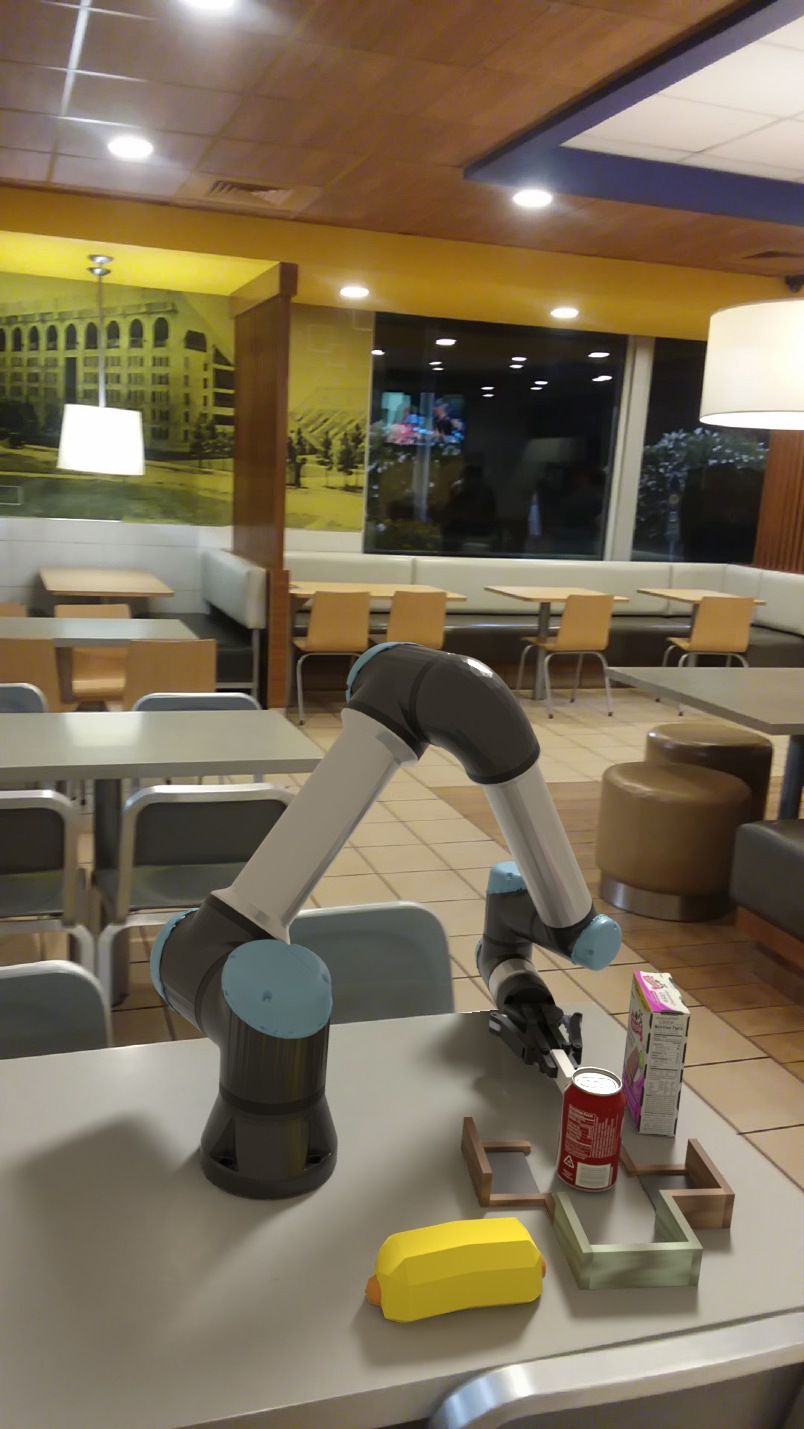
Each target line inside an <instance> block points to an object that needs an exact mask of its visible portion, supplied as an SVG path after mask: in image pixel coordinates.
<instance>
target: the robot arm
mask: <svg viewBox="0 0 804 1429" xmlns="http://www.w3.org/2000/svg"><path fill="white" fill-rule="evenodd" d="M346 685H347V690H345V699H346V705H345V706H344V707H343V708H342V710H341V711H340V716H341V722H342V730H341V731H340V733H339V735H338V736H337V737H336V739H335V740H334V742H332V745H331V746H330V747H329V749H328V750H327V751H326V753H325V754H324V756H322V758H321V760H320V761H319V763H318V764H317V765H316V767H315V768H314V770H313V771H312V772H311V774H310V776H308V778H307V780H306V781H305V782H304V783H303V785H302V786H301V787H300V789H299V790H298V792H297V793H296V794H295V796H294V797H293V799H292V800H291V802H290V803H289V804H288V806H287V807H286V808H285V810H284V811H283V813H282V814H281V816H280V817H279V818H278V820H277V821H276V822H275V823H274V825H273V827H272V828H271V829H270V831H269V832H268V834H267V835H266V836H265V837H264V839H263V840H262V842H261V843H260V844H259V846H258V848H257V849H256V850H255V852H254V853H253V855H252V856H251V857H250V859H249V860H248V861H247V862H246V864H245V866H244V867H243V869H241V871H240V872H239V874H238V876H237V877H236V878H235V879H234V881H233V882H232V883H231V885H230V886H228V887H227V888H226V887H225V888H221V889H216V890H212V891H211V892H210V893H209V894H208V895H207V898H206V899H205V900H204V901H203V902H202V904H201V905H200V907H193V908H189V909H187V910H186V911H181V912H178V913H177V914H175V915H174V916H172V917H171V918H170V919H169V920H167V922H166V923H165V924H164V925H163V926H162V928H161V929H160V930H159V932H158V934H157V936H156V938H155V940H154V942H153V944H152V948H151V952H150V956H149V957H150V958H149V969H150V977H151V981H152V984H153V986H154V988H155V990H156V991H157V993H158V994H159V995H160V996H161V998H163V1000H164V1001H165V1003H166V1005H167V1006H169V1008H170V1009H171V1010H172V1011H173V1012H175V1013H177V1014H179V1015H180V1016H182V1017H183V1018H185V1019H186V1020H187V1021H188V1022H189V1023H190V1024H192V1025H193V1026H194V1027H195V1028H196V1029H197V1030H199V1031H200V1032H201V1033H202V1034H203V1035H204V1036H206V1037H207V1038H208V1039H209V1040H210V1041H211V1042H213V1043H214V1044H215V1045H216V1046H217V1047H218V1049H219V1053H220V1054H219V1078H218V1080H219V1082H218V1093H217V1096H216V1098H215V1100H214V1103H213V1106H212V1108H211V1111H210V1113H209V1116H208V1119H207V1120H206V1124H205V1126H204V1129H203V1131H202V1134H201V1138H200V1144H199V1145H200V1149H199V1164H200V1168H201V1170H202V1172H203V1173H204V1175H205V1177H206V1178H207V1179H208V1180H209V1181H210V1182H211V1183H212V1184H214V1185H215V1186H217V1187H218V1188H220V1189H222V1190H224V1192H225V1191H226V1192H228V1193H230V1194H233V1195H237V1196H239V1197H245V1198H249V1199H257V1200H277V1199H286V1198H290V1197H295V1196H299V1195H302V1194H305V1193H307V1192H310V1191H311V1190H313V1189H315V1188H317V1187H319V1186H321V1184H323V1183H324V1182H325V1181H326V1180H328V1179H329V1177H330V1176H331V1175H332V1173H333V1172H334V1171H335V1169H336V1166H337V1159H338V1145H339V1144H338V1143H339V1142H338V1135H337V1134H338V1133H337V1131H336V1128H335V1123H334V1120H333V1117H332V1113H331V1110H330V1106H329V1103H328V1100H327V1096H326V1086H327V1085H326V1084H327V1081H326V1079H327V1071H328V1070H327V1067H328V1057H329V1056H328V1055H329V1041H330V1031H331V1030H330V1028H331V1018H332V1017H331V1015H332V1010H333V1003H334V1002H333V995H332V978H331V974H330V971H329V969H328V967H327V965H326V963H325V962H324V960H323V959H322V958H321V957H320V956H319V955H318V954H316V953H315V952H314V951H311V949H309V948H307V947H305V946H303V945H300V944H297V943H292V944H291V939H290V938H291V937H290V933H289V932H290V931H289V930H290V926H291V925H292V923H293V922H294V920H295V919H296V918H297V916H299V915H298V914H299V913H300V912H301V910H302V909H303V907H304V906H305V904H306V903H307V902H308V900H309V899H310V897H311V896H312V894H313V893H314V892H315V890H316V889H317V888H318V886H319V884H320V883H321V882H322V880H323V879H324V878H325V877H326V876H325V875H326V874H327V873H328V871H329V870H330V869H331V868H332V866H333V865H334V863H335V861H336V860H337V859H338V857H339V856H340V854H341V852H342V851H343V850H344V848H345V847H346V846H347V844H348V842H349V841H350V840H351V838H352V837H353V835H354V833H355V832H356V831H357V829H358V828H359V826H360V825H361V824H362V822H363V821H364V819H365V817H366V816H367V815H368V814H369V812H370V811H371V809H372V808H373V806H374V805H375V803H376V802H377V801H378V799H379V798H380V796H381V795H382V793H383V792H384V790H385V789H386V788H387V786H388V785H389V784H390V782H391V780H392V779H393V777H394V776H395V775H396V773H397V772H398V771H399V770H400V769H401V768H407V767H414V766H416V765H417V764H418V763H419V761H420V759H421V757H422V756H423V755H424V754H425V752H426V751H427V749H428V748H429V747H430V745H431V746H434V747H437V748H442V749H444V750H445V751H447V752H449V753H450V754H451V755H453V756H454V757H455V759H457V760H458V761H459V763H460V764H461V765H462V767H463V769H464V771H465V773H466V776H467V777H468V779H469V780H470V781H471V782H472V783H473V784H475V785H478V786H480V788H481V789H482V792H483V793H484V795H485V797H486V800H487V803H488V805H489V807H490V809H491V812H492V814H493V817H494V819H495V820H496V823H497V825H498V827H499V829H500V833H501V834H502V837H503V838H504V841H505V843H506V845H507V847H508V850H509V852H510V854H511V856H512V858H513V861H512V860H511V861H502V862H499V863H496V864H494V865H493V866H492V867H491V868H490V871H489V875H488V882H487V887H486V890H485V894H486V895H485V908H484V920H483V922H484V924H483V931H482V932H483V933H482V937H481V938H480V939H479V941H478V942H477V944H476V946H475V949H474V960H475V965H476V969H477V971H478V972H477V973H478V974H479V976H480V977H481V979H482V981H483V983H484V984H485V987H486V988H487V990H488V991H489V994H490V996H491V998H492V1000H493V1002H494V1004H495V1006H496V1009H497V1010H498V1012H499V1013H498V1012H496V1011H493V1012H490V1014H489V1022H488V1032H489V1033H490V1034H493V1035H494V1036H496V1037H498V1038H499V1039H500V1040H501V1041H502V1042H503V1043H504V1044H505V1045H506V1046H507V1047H508V1048H509V1049H510V1051H512V1052H513V1054H514V1055H515V1056H517V1058H519V1060H520V1061H521V1062H522V1063H523V1064H524V1065H525V1066H529V1067H530V1066H533V1065H534V1064H538V1072H539V1073H540V1074H544V1075H545V1076H546V1077H548V1078H549V1079H554V1081H555V1083H556V1085H557V1086H558V1089H559V1090H560V1093H561V1094H562V1096H563V1095H564V1088H565V1086H566V1085H567V1084H568V1082H569V1081H570V1080H571V1076H572V1073H573V1072H574V1071H575V1070H577V1069H579V1068H578V1067H579V1066H580V1065H581V1064H582V1056H583V1048H584V1046H583V1044H584V1043H583V1038H582V1027H583V1026H582V1025H583V1016H584V1014H583V1013H581V1012H579V1011H576V1012H573V1013H572V1014H564V1010H563V1009H562V1008H561V1007H559V1006H557V1004H556V1001H555V998H554V995H553V994H552V992H551V991H550V989H549V986H548V985H547V984H546V983H545V981H544V979H543V977H542V976H541V974H540V972H539V971H538V970H537V968H536V967H535V964H534V963H533V950H534V949H533V948H534V944H535V945H536V946H538V947H541V948H543V949H545V950H546V951H549V952H551V953H553V954H555V955H557V956H558V957H561V958H562V959H565V960H566V961H569V962H570V963H572V965H574V966H580V967H582V968H585V969H587V970H590V971H593V972H597V971H598V972H599V971H602V970H606V968H608V967H609V966H610V965H611V964H612V962H613V961H614V960H616V957H618V955H619V953H620V951H621V945H622V939H623V938H622V937H623V933H622V929H621V927H620V925H619V924H618V923H617V922H616V921H615V920H614V919H612V918H610V917H608V915H607V914H604V913H600V912H599V911H598V910H597V908H596V906H595V904H594V901H593V900H592V895H591V893H590V890H589V888H588V885H587V883H586V881H585V878H584V876H583V874H582V870H581V868H580V866H579V863H578V861H577V858H576V856H575V853H574V851H573V848H572V846H571V843H570V841H569V838H568V836H567V832H566V831H565V828H564V826H563V823H562V820H561V818H560V816H559V813H558V811H557V808H556V805H555V803H554V800H553V797H552V796H551V792H550V791H549V788H548V787H549V786H548V784H547V783H546V780H545V778H544V775H543V773H542V770H541V767H540V765H539V763H538V762H539V760H540V758H541V752H542V751H541V750H542V749H541V745H540V743H539V740H538V737H537V735H536V734H535V731H534V728H533V726H532V724H531V721H530V720H529V718H528V716H527V714H526V713H525V710H524V709H523V707H522V706H521V704H520V703H519V701H518V699H517V697H516V696H515V694H514V693H513V692H512V690H511V689H510V688H509V686H508V685H507V684H506V682H505V681H504V680H503V679H502V678H501V677H500V676H499V674H498V673H496V672H495V670H493V669H492V668H491V667H490V666H488V665H487V664H485V663H483V662H482V661H481V660H479V659H476V658H474V657H471V656H469V655H464V654H456V653H451V652H448V651H445V650H444V651H443V650H439V649H434V648H430V647H425V646H424V645H421V644H419V643H416V642H407V641H406V642H405V641H403V642H398V641H388V642H383V643H379V644H377V645H373V647H371V648H368V649H367V650H366V651H365V652H363V653H362V655H361V656H360V657H359V658H358V659H356V661H355V663H354V664H353V666H352V667H351V670H350V671H349V674H348V676H347V680H346ZM561 1025H564V1028H565V1029H566V1031H565V1032H566V1033H567V1034H568V1036H567V1037H568V1041H567V1040H566V1038H565V1037H564V1034H563V1033H562V1031H561V1030H560V1027H561Z"/></svg>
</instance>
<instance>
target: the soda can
mask: <svg viewBox="0 0 804 1429" xmlns="http://www.w3.org/2000/svg"><path fill="white" fill-rule="evenodd" d="M562 1096H563V1098H562V1105H561V1114H560V1123H559V1131H558V1132H559V1134H558V1143H557V1152H556V1158H555V1171H556V1175H557V1176H558V1177H559V1179H560V1180H561V1181H562V1182H563V1183H564V1184H566V1185H568V1186H569V1187H571V1188H573V1189H576V1190H577V1191H581V1192H585V1193H599V1192H603V1191H607V1190H609V1189H611V1188H613V1186H615V1184H616V1183H617V1181H618V1180H617V1179H618V1170H619V1165H620V1164H619V1163H620V1161H619V1156H620V1148H621V1142H622V1138H623V1130H624V1124H625V1123H624V1122H625V1114H626V1105H627V1101H626V1097H625V1095H624V1093H623V1090H622V1079H620V1077H619V1076H618V1075H616V1074H615V1073H613V1072H612V1071H610V1070H606V1069H604V1068H599V1067H593V1066H589V1067H588V1066H587V1067H586V1066H585V1067H580V1068H578V1069H577V1070H575V1071H574V1072H573V1073H572V1076H571V1080H570V1081H569V1082H568V1084H567V1085H566V1086H565V1088H564V1095H563V1094H562Z"/></svg>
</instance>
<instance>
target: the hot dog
mask: <svg viewBox="0 0 804 1429" xmlns="http://www.w3.org/2000/svg"><path fill="white" fill-rule="evenodd" d="M373 1269H374V1270H373V1274H372V1276H370V1277H369V1278H368V1279H367V1283H366V1288H365V1291H364V1293H365V1296H366V1297H367V1300H368V1302H369V1303H370V1305H374V1306H378V1307H380V1308H381V1309H382V1313H383V1316H384V1318H385V1319H387V1320H390V1321H393V1322H397V1323H400V1324H406V1323H410V1322H415V1321H420V1320H424V1319H428V1318H431V1317H436V1316H437V1317H438V1316H440V1315H441V1316H442V1315H445V1314H449V1313H454V1312H458V1311H462V1310H466V1309H467V1310H469V1309H479V1308H480V1309H481V1308H489V1307H490V1308H491V1307H500V1306H510V1305H512V1306H513V1305H521V1304H528V1303H531V1302H534V1301H535V1300H536V1299H537V1298H538V1297H539V1296H540V1295H541V1294H543V1291H544V1290H543V1289H544V1288H543V1279H544V1278H545V1277H546V1274H547V1264H546V1261H545V1258H544V1256H543V1254H542V1252H541V1251H540V1250H539V1249H538V1248H537V1246H536V1244H535V1242H534V1240H533V1238H532V1236H531V1235H530V1233H529V1230H528V1229H527V1228H526V1227H525V1226H524V1225H523V1224H522V1223H521V1221H519V1220H518V1218H517V1217H516V1216H512V1217H511V1216H510V1217H508V1216H507V1217H493V1218H480V1219H464V1220H454V1221H449V1222H444V1223H439V1224H435V1225H431V1226H426V1227H419V1228H416V1229H415V1228H414V1229H411V1230H406V1231H401V1232H397V1233H393V1234H391V1235H389V1236H388V1237H387V1239H386V1240H385V1241H384V1243H383V1244H382V1245H381V1247H380V1248H379V1250H378V1253H377V1256H376V1261H375V1266H374V1268H373Z"/></svg>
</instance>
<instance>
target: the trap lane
mask: <svg viewBox="0 0 804 1429" xmlns="http://www.w3.org/2000/svg"><path fill="white" fill-rule="evenodd" d="M460 1149H461V1153H462V1156H463V1160H464V1162H465V1165H466V1168H467V1172H468V1175H469V1178H470V1181H471V1183H472V1187H473V1190H474V1193H475V1196H476V1199H477V1202H478V1205H479V1208H497V1207H498V1208H501V1207H503V1208H505V1207H535V1206H544V1209H545V1211H546V1214H547V1217H548V1218H549V1221H550V1223H551V1226H552V1228H553V1230H554V1233H555V1235H556V1238H557V1240H558V1243H559V1246H560V1247H561V1250H562V1252H563V1255H564V1256H565V1259H566V1261H567V1262H566V1263H567V1264H568V1266H569V1269H570V1272H571V1274H572V1276H573V1278H574V1280H575V1284H576V1285H577V1288H578V1290H583V1291H584V1290H604V1289H606V1290H609V1289H630V1288H634V1289H635V1288H654V1287H655V1288H656V1287H678V1286H679V1287H680V1286H683V1287H684V1286H698V1285H699V1281H700V1275H701V1266H702V1261H703V1255H704V1254H703V1252H704V1248H703V1246H702V1244H701V1243H700V1242H701V1241H699V1239H698V1237H697V1236H696V1234H695V1233H694V1230H713V1229H715V1230H716V1229H717V1230H718V1229H731V1225H732V1218H733V1212H734V1206H735V1205H734V1204H735V1198H736V1193H735V1191H734V1190H733V1189H732V1187H731V1186H730V1184H729V1183H728V1181H727V1180H726V1178H725V1177H724V1176H723V1174H722V1173H721V1172H720V1170H719V1169H718V1167H717V1165H716V1164H715V1163H714V1162H713V1160H712V1159H711V1157H710V1156H709V1154H708V1153H707V1151H706V1150H705V1149H704V1147H703V1146H702V1144H701V1143H700V1142H699V1140H698V1138H688V1139H687V1146H686V1153H685V1160H684V1163H671V1164H670V1163H669V1164H665V1163H664V1164H636V1165H635V1164H634V1162H633V1160H632V1158H631V1156H630V1155H629V1153H628V1151H627V1150H626V1148H625V1146H624V1144H623V1143H622V1141H621V1148H620V1156H619V1163H620V1165H621V1166H622V1169H623V1170H624V1172H625V1174H626V1175H627V1177H628V1178H637V1180H638V1182H639V1183H640V1185H641V1187H642V1189H643V1190H644V1192H645V1195H646V1196H647V1197H648V1199H649V1201H650V1203H651V1204H652V1206H653V1209H654V1210H655V1216H654V1224H653V1225H654V1226H655V1228H656V1229H657V1231H658V1233H659V1235H660V1236H661V1238H662V1241H663V1242H648V1243H647V1242H645V1243H643V1242H641V1243H616V1244H615V1243H613V1244H590V1241H589V1240H588V1237H587V1235H586V1233H585V1231H584V1229H583V1226H582V1224H581V1222H580V1219H579V1218H578V1214H577V1213H576V1210H575V1209H574V1207H573V1204H572V1202H571V1199H570V1197H569V1195H568V1193H567V1192H556V1198H554V1196H553V1193H552V1192H541V1191H540V1190H539V1187H538V1184H537V1181H536V1180H535V1177H534V1175H533V1172H532V1170H531V1168H530V1165H529V1162H528V1161H527V1158H526V1155H525V1154H524V1153H531V1151H532V1145H531V1142H530V1141H529V1140H516V1141H515V1140H513V1141H509V1140H507V1141H502V1140H501V1141H482V1139H481V1137H480V1135H479V1132H478V1129H477V1126H476V1123H475V1121H474V1118H473V1116H463V1122H462V1133H461V1145H460Z"/></svg>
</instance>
